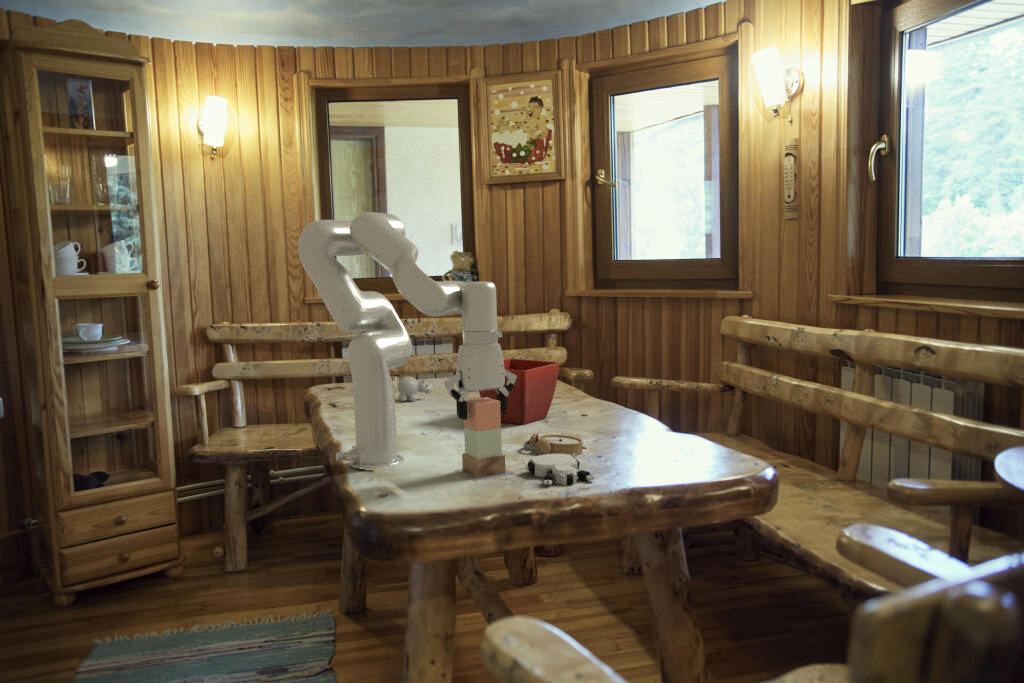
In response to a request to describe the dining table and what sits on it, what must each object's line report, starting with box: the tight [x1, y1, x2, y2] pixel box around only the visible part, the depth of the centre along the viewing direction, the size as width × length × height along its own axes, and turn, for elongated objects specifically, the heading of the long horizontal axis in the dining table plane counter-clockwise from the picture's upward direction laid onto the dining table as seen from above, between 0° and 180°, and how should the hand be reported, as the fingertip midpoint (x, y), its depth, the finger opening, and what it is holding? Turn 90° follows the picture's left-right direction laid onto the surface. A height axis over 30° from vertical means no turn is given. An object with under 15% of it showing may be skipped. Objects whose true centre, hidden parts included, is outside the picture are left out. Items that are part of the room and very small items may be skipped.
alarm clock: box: [523, 433, 588, 457], centre depth 194 cm, size 11×5×15 cm
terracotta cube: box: [463, 397, 502, 432], centre depth 173 cm, size 6×6×6 cm
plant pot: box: [478, 358, 560, 426], centre depth 236 cm, size 19×19×17 cm
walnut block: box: [461, 452, 506, 478], centre depth 174 cm, size 7×7×4 cm
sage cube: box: [463, 426, 503, 459], centre depth 174 cm, size 6×6×6 cm
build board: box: [453, 468, 515, 482], centre depth 174 cm, size 10×10×1 cm
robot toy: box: [521, 453, 596, 486], centre depth 170 cm, size 12×4×15 cm
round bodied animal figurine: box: [396, 376, 433, 402], centre depth 273 cm, size 7×12×8 cm, turn 101°
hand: (482, 416), depth 173 cm, fingers open, 9 cm apart
